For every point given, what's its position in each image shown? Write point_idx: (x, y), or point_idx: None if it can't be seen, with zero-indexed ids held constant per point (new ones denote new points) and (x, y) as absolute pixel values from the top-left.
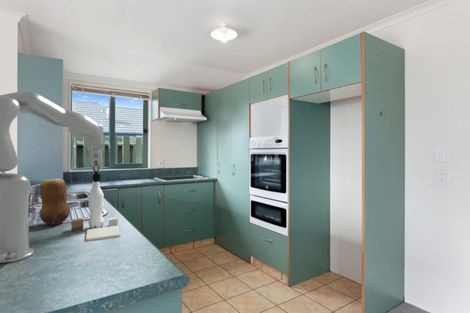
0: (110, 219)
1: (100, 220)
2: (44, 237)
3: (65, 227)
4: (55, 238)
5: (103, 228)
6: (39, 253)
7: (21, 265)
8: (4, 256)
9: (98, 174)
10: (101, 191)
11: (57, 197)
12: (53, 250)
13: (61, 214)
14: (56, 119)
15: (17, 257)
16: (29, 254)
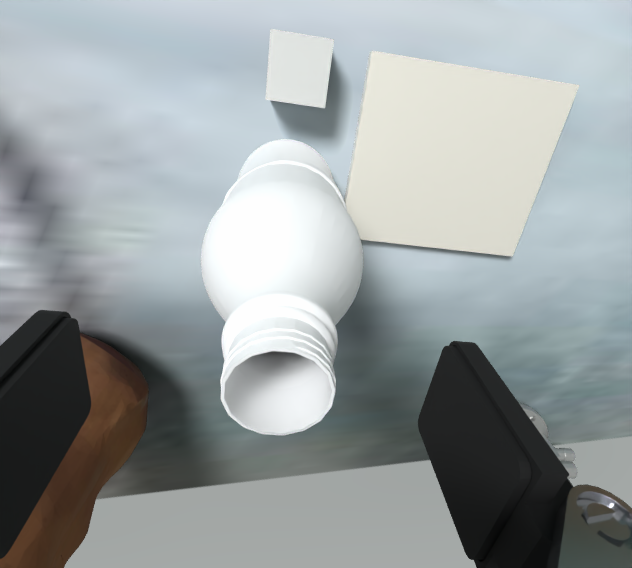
0: (319, 97)
1: (327, 172)
2: None
3: (190, 320)
4: (368, 353)
5: (378, 154)
6: (519, 387)
7: (589, 415)
8: (575, 468)
9: (542, 480)
10: (324, 228)
11: (71, 490)
12: (524, 355)
13: (126, 376)
14: None
15: (545, 435)
16: (536, 412)
